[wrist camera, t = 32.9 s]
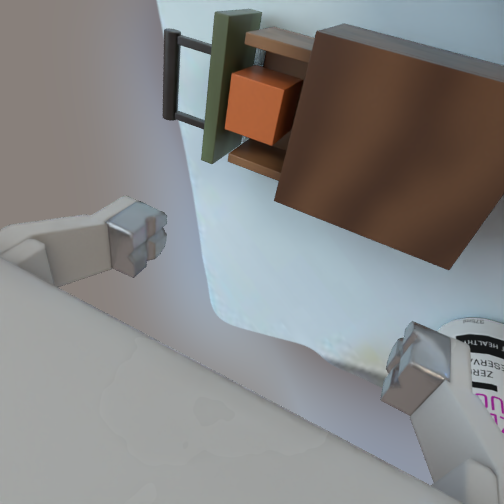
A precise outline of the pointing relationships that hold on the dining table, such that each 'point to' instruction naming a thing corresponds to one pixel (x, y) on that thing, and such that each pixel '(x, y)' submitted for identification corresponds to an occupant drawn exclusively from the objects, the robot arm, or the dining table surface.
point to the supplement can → (483, 360)
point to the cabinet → (397, 142)
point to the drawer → (221, 68)
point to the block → (262, 103)
